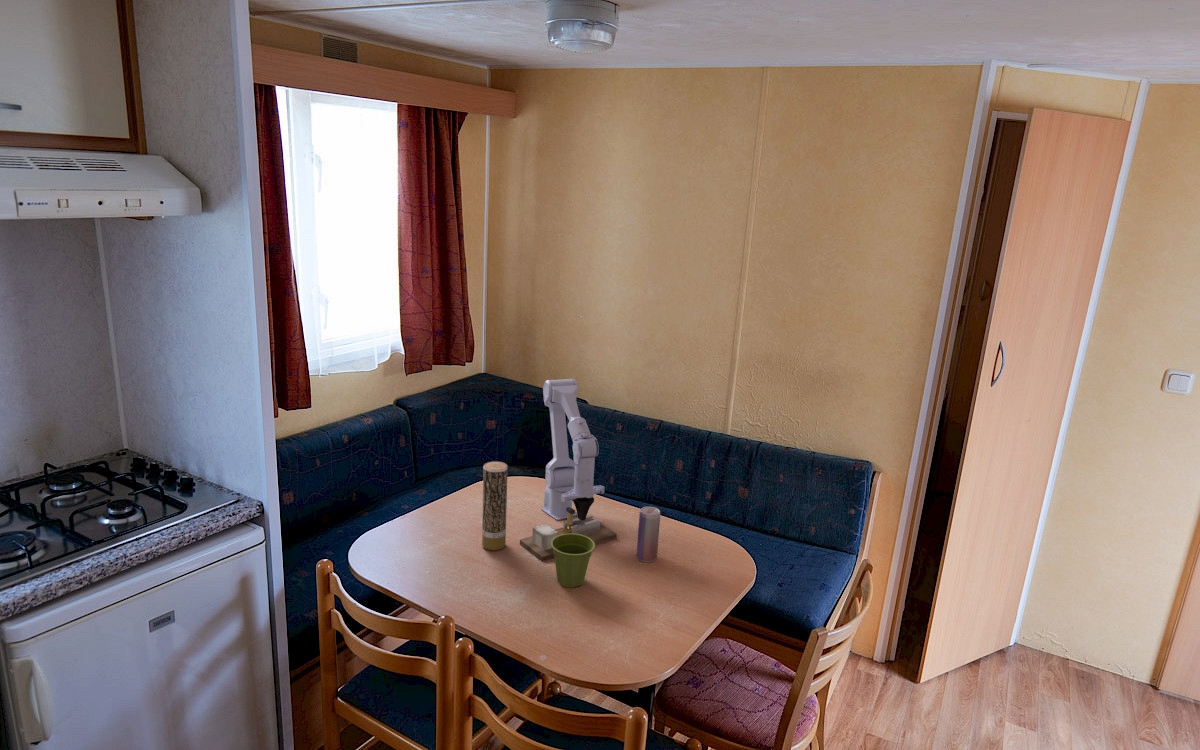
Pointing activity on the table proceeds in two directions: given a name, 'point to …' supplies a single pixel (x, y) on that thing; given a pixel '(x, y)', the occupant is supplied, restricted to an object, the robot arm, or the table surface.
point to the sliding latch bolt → (569, 522)
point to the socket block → (543, 536)
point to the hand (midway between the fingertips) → (581, 519)
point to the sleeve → (585, 526)
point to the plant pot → (572, 558)
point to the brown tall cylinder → (494, 505)
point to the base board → (548, 554)
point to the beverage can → (648, 534)
